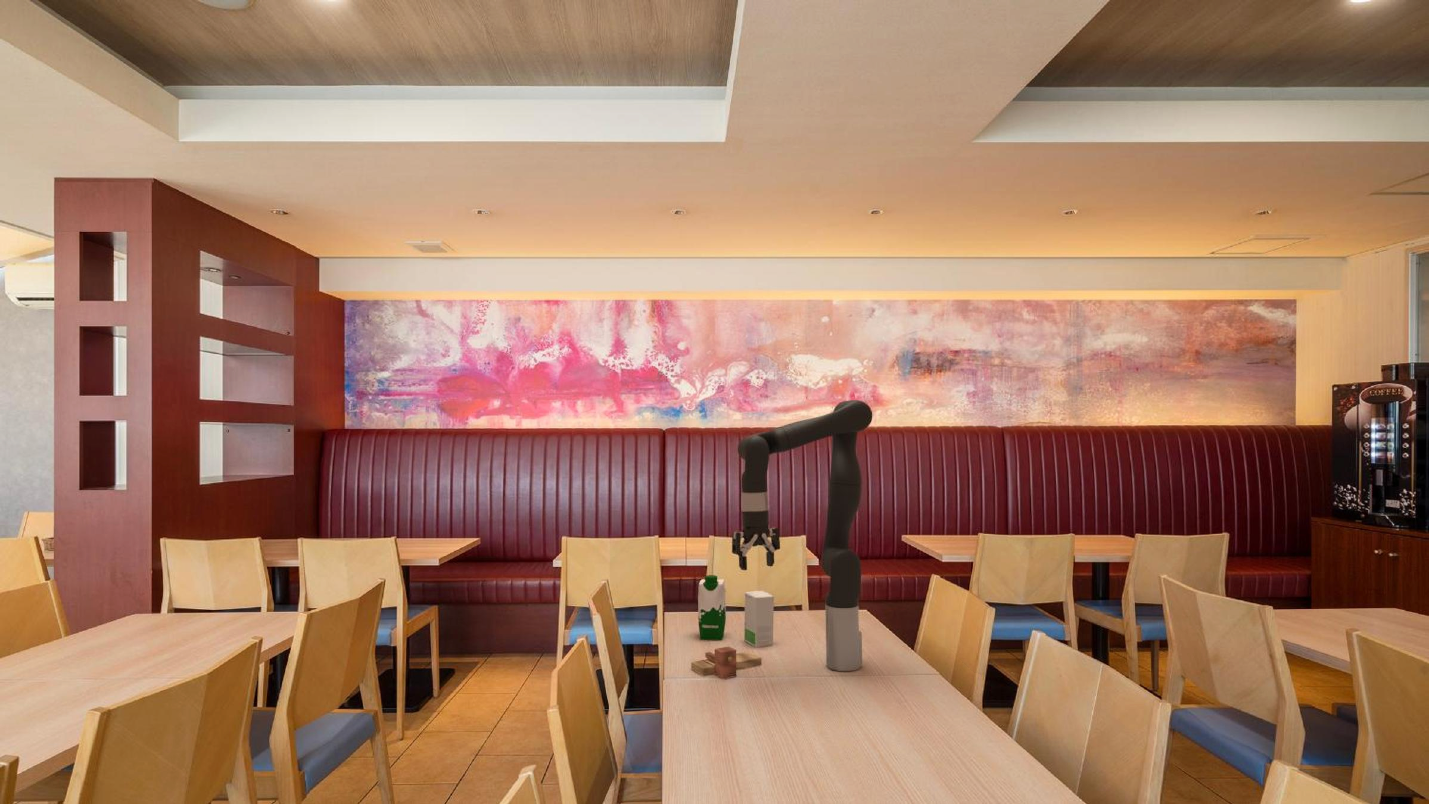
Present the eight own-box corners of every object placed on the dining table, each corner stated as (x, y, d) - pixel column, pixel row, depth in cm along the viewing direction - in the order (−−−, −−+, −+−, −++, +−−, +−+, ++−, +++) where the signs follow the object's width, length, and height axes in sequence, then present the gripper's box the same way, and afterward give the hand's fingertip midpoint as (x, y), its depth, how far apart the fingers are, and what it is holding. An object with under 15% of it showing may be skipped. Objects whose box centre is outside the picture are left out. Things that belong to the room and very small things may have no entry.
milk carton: (697, 640, 235) (696, 577, 236) (700, 633, 244) (700, 572, 245) (724, 641, 234) (723, 577, 235) (726, 633, 243) (726, 572, 244)
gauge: (714, 664, 211) (714, 639, 211) (737, 676, 200) (737, 650, 200) (700, 666, 208) (700, 641, 209) (723, 679, 198) (723, 653, 198)
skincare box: (743, 641, 234) (743, 591, 235) (762, 638, 237) (761, 589, 238) (756, 648, 226) (755, 596, 227) (775, 645, 229) (774, 594, 230)
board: (748, 658, 216) (748, 651, 216) (761, 664, 210) (761, 657, 210) (691, 669, 206) (691, 661, 206) (703, 676, 200) (703, 668, 200)
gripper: (768, 505, 209) (770, 563, 209) (725, 509, 202) (727, 569, 202) (784, 507, 203) (786, 566, 202) (740, 511, 196) (742, 573, 195)
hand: (756, 567), depth 202 cm, fingers open, 8 cm apart
